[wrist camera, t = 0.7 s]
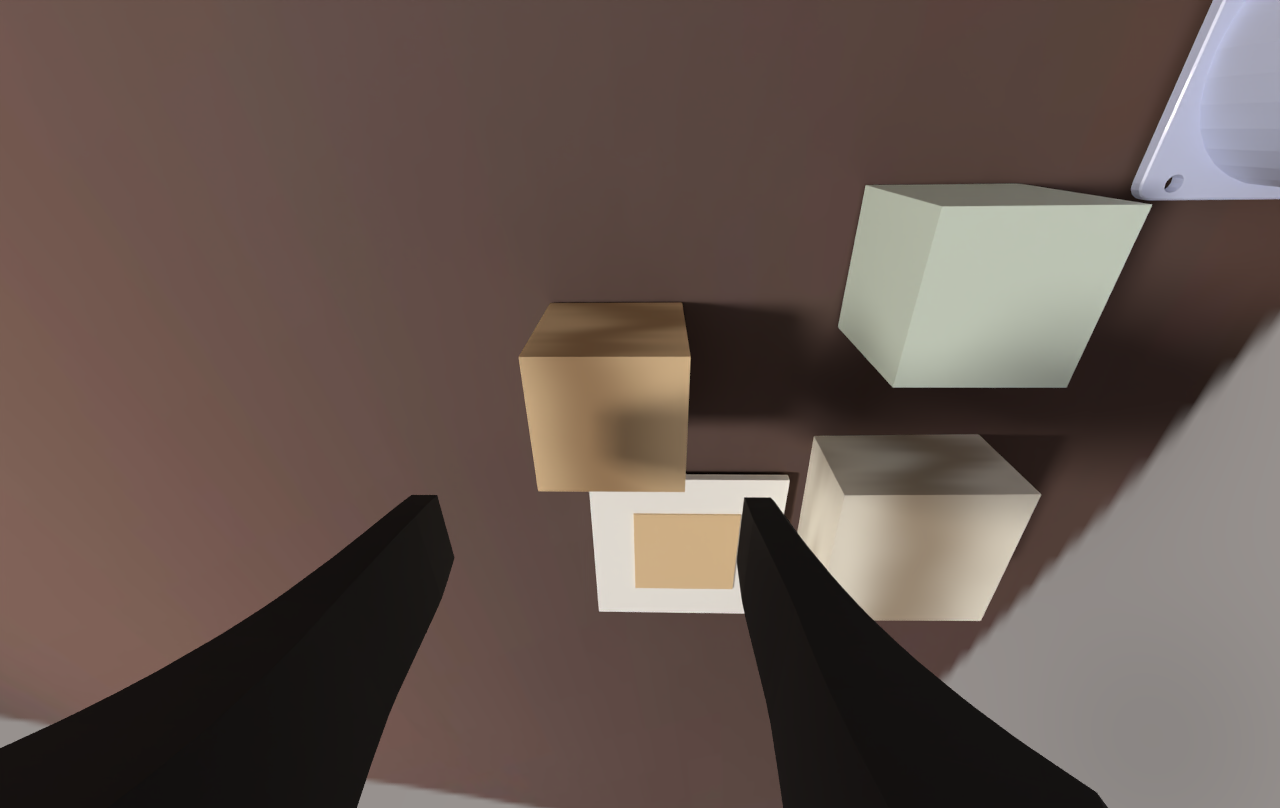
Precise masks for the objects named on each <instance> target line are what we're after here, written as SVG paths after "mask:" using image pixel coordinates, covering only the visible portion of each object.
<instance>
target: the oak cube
mask: <svg viewBox="0 0 1280 808" xmlns="http://www.w3.org/2000/svg"><path fill="white" fill-rule="evenodd" d="M690 360H691V356H690V350H689V343H688V337H687V331H686V324H685V318H684V312H683V305H682V303H550V304H549V306H548V308H547V309H546V311H545V313H544V315H543V316H542V318H541V320H540V321H539V323H538V325H537V327H536V328H535V330H534V332H533V333H532V335H531V337H530V338H529V340H528V342H527V344H526V345H525V347H524V349H523V350H522V352H521V354H520V355H519V363H520V370H521V376H522V383H523V390H524V397H525V404H526V411H527V417H528V424H529V431H530V438H531V445H532V452H533V458H534V465H535V472H536V479H537V486H538V491H589V492H685V479H686V455H687V431H688V408H689V384H690Z"/></svg>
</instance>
